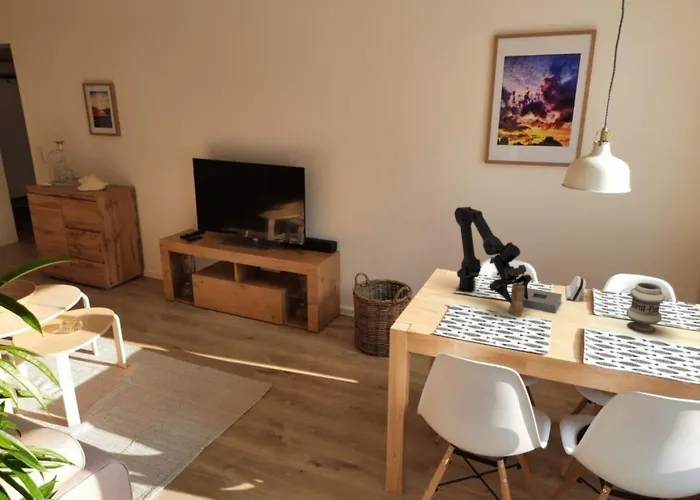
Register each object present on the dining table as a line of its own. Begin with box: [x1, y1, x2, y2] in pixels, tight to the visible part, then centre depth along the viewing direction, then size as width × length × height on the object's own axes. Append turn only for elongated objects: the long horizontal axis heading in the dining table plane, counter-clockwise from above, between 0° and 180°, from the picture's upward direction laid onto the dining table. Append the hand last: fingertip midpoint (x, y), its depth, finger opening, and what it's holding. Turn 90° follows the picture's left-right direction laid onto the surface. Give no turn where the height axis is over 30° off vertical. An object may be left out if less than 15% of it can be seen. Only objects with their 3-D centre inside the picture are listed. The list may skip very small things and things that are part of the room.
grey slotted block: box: [522, 287, 563, 314], centre depth 225 cm, size 16×16×4 cm
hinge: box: [564, 275, 587, 303], centre depth 235 cm, size 17×5×10 cm, turn 159°
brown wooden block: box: [508, 284, 525, 318], centre depth 211 cm, size 4×4×13 cm
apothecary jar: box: [626, 281, 666, 334], centre depth 199 cm, size 12×12×18 cm
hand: (519, 300), depth 210 cm, fingers open, 8 cm apart
